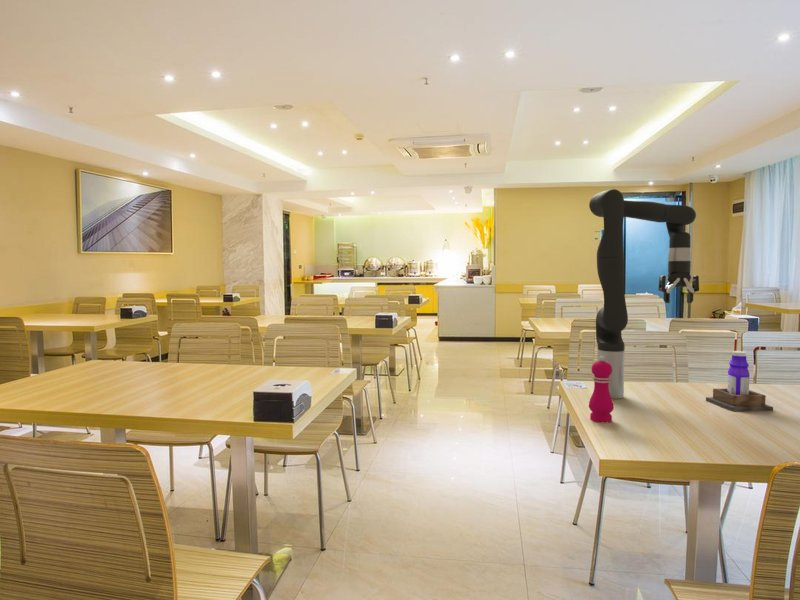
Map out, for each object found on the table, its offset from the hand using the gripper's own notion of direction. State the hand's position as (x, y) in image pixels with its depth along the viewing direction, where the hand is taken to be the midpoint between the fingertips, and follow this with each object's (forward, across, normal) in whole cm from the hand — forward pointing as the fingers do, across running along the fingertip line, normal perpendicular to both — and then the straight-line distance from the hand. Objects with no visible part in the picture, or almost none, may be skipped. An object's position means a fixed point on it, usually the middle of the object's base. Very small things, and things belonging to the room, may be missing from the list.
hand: (678, 302), depth 200 cm
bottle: (+33, +10, -21) cm, 40 cm away
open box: (+34, +10, -21) cm, 41 cm away
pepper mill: (+34, -44, -37) cm, 67 cm away
